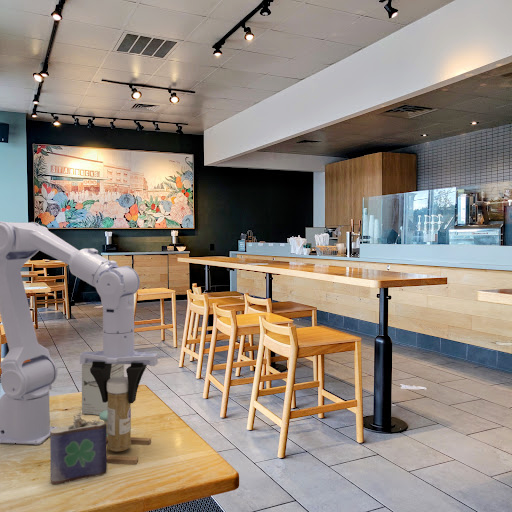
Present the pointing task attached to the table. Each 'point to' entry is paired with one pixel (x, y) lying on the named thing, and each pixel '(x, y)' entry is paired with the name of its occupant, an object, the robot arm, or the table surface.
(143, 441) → the u-shaped brown frame
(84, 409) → the supplement box
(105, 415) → the bobbin
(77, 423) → the flask
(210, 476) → the table surface
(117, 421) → the spice jar
